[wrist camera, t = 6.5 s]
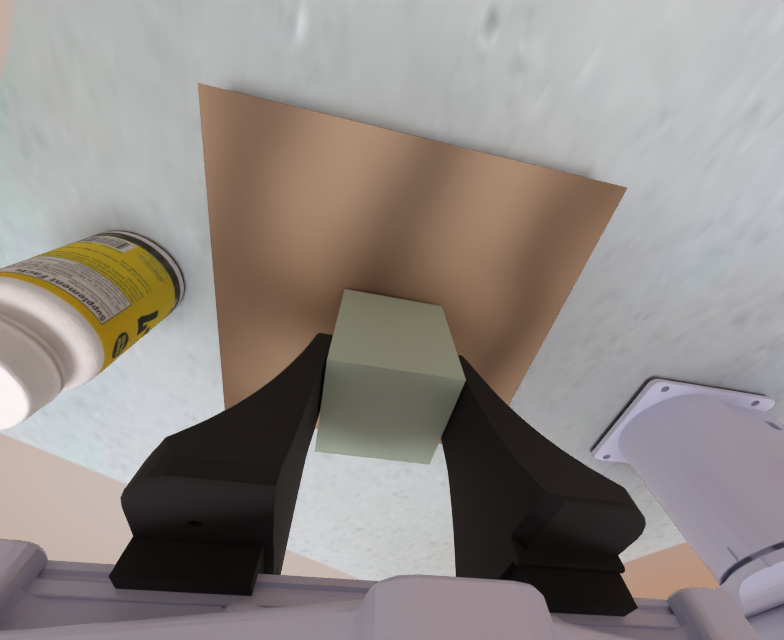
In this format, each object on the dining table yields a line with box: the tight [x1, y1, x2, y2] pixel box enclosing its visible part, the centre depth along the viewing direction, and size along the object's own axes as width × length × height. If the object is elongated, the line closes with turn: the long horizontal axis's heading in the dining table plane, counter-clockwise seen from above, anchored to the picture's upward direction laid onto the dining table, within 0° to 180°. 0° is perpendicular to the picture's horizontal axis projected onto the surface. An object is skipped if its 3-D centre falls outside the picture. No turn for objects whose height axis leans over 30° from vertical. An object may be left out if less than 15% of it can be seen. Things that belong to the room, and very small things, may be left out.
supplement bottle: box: [0, 231, 184, 430], centre depth 13 cm, size 5×5×8 cm
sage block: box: [315, 289, 466, 464], centre depth 13 cm, size 4×4×5 cm
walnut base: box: [198, 83, 627, 444], centre depth 16 cm, size 16×16×2 cm
